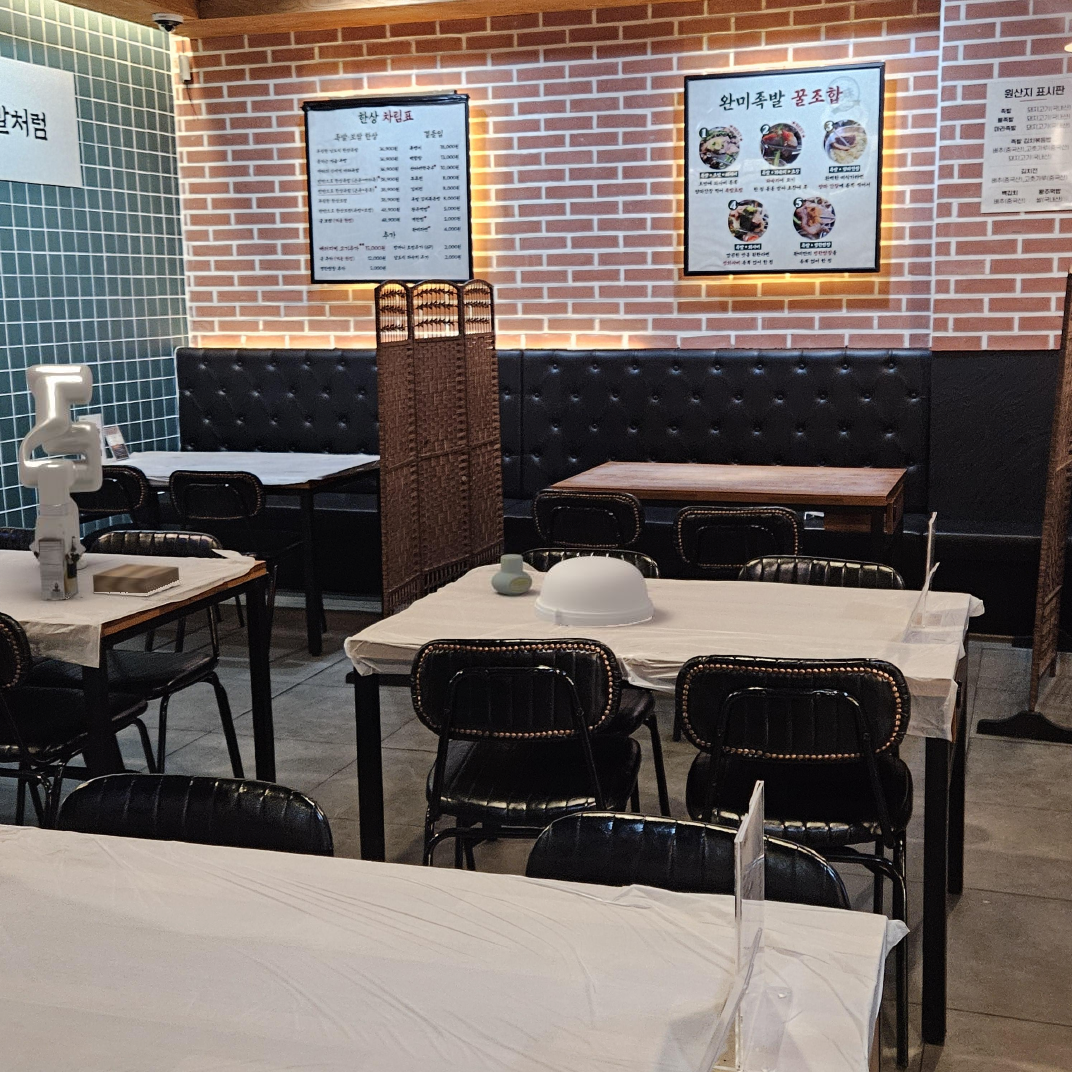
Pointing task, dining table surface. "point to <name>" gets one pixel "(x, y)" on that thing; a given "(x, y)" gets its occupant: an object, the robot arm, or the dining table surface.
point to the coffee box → (55, 570)
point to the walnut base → (134, 578)
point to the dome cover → (593, 593)
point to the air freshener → (511, 576)
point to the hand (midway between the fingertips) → (59, 576)
